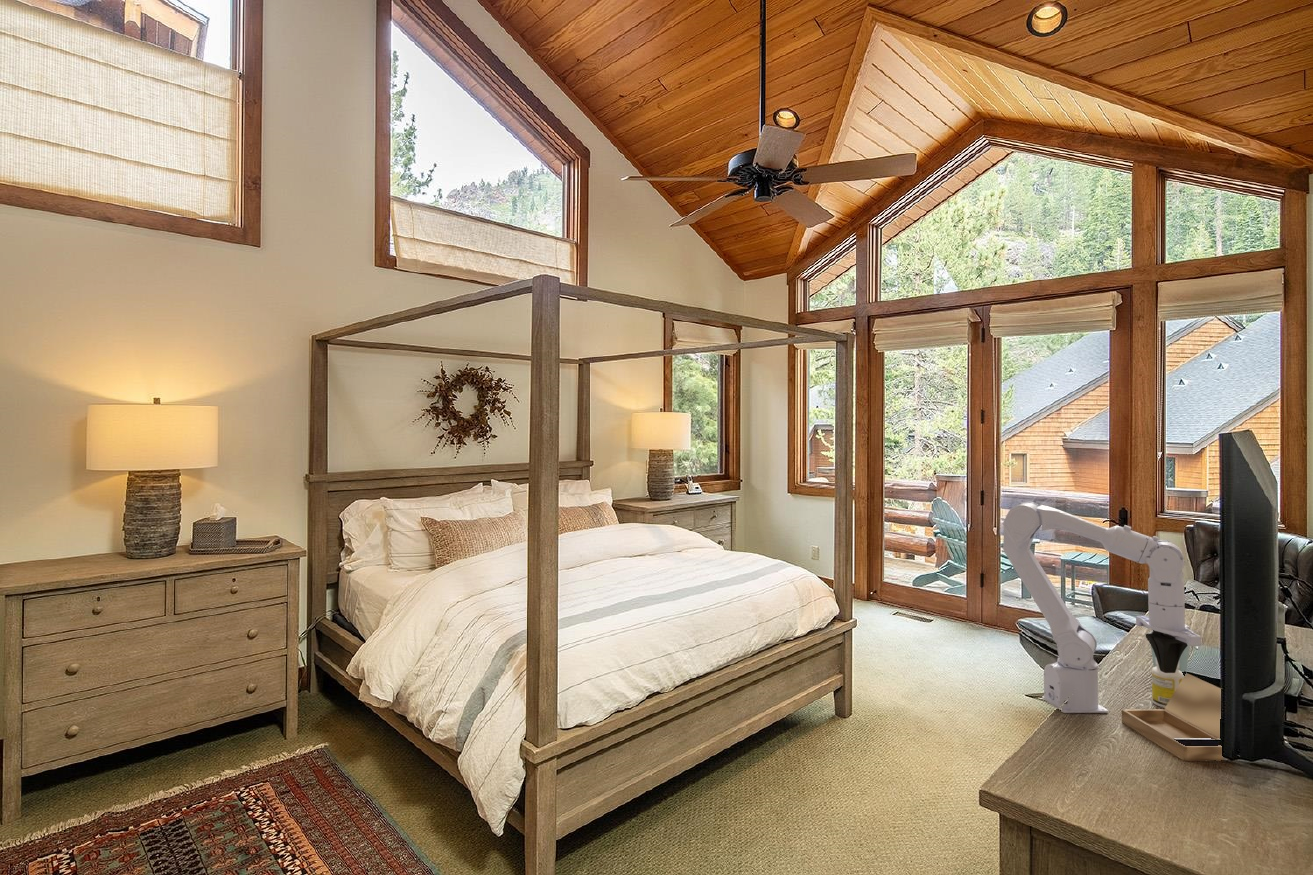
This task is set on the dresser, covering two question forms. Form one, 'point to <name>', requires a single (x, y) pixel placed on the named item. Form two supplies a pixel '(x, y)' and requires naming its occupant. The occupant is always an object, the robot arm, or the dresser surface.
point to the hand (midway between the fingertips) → (1167, 671)
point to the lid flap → (1197, 704)
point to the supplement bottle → (1164, 685)
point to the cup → (1182, 660)
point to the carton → (1171, 733)
